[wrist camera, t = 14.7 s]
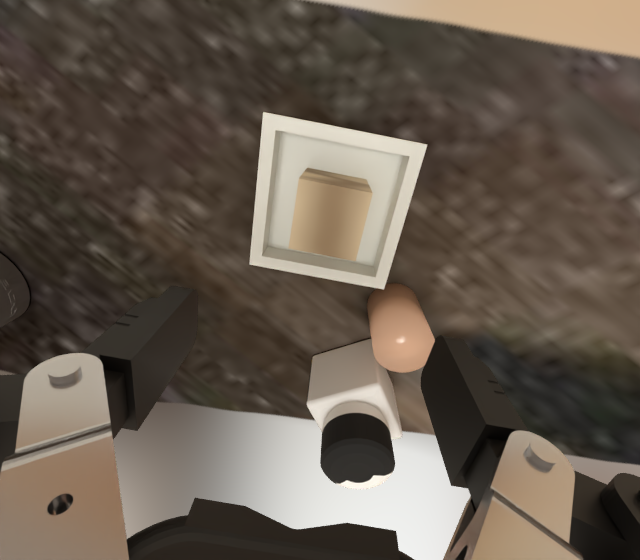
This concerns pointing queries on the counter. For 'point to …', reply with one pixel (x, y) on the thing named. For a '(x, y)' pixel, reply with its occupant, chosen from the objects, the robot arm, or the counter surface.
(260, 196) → the white tray
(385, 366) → the peach rounded capsule
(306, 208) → the maple block
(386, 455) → the medicine bottle
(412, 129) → the counter surface
